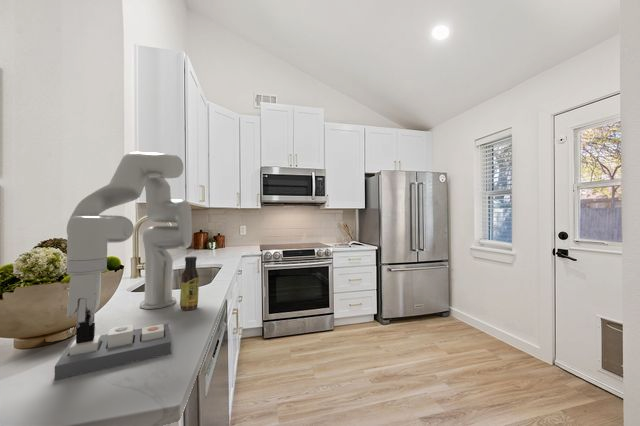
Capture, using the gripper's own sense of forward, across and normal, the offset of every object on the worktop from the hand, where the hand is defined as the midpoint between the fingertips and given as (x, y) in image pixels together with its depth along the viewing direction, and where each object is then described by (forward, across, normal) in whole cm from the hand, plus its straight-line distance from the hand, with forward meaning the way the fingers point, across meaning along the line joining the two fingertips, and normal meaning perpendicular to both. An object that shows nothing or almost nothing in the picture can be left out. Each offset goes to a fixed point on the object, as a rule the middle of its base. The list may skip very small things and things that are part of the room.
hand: (85, 340), depth 66 cm
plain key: (+3, 0, +7) cm, 8 cm away
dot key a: (+4, 0, +14) cm, 15 cm away
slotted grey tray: (+5, 0, +7) cm, 9 cm away
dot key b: (+4, 0, 0) cm, 4 cm away
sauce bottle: (+5, -28, +26) cm, 39 cm away
